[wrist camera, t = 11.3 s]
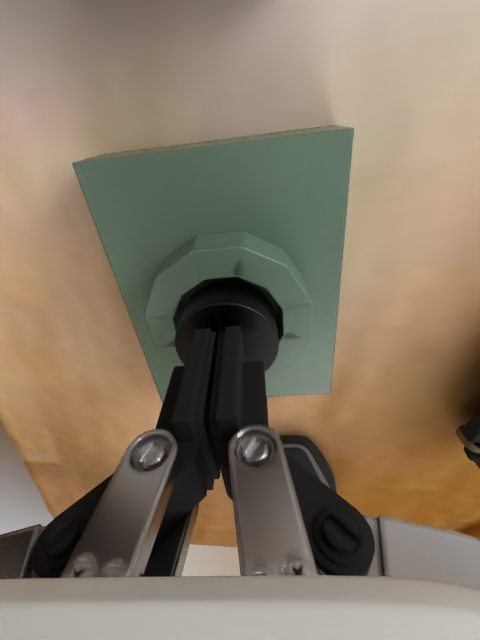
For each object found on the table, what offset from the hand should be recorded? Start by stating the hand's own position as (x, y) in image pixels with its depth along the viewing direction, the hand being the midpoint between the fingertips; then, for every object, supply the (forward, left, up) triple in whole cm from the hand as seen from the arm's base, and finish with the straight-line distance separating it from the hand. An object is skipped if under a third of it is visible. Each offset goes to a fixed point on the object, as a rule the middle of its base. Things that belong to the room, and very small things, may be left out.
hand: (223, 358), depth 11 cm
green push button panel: (0, 0, -6) cm, 6 cm away
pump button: (0, 0, -2) cm, 2 cm away
